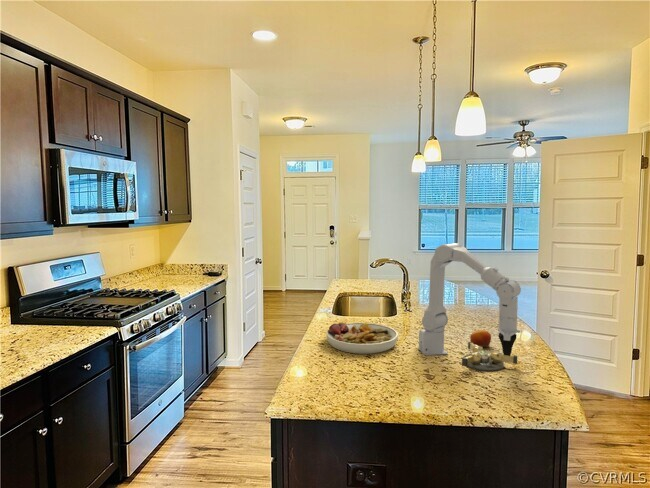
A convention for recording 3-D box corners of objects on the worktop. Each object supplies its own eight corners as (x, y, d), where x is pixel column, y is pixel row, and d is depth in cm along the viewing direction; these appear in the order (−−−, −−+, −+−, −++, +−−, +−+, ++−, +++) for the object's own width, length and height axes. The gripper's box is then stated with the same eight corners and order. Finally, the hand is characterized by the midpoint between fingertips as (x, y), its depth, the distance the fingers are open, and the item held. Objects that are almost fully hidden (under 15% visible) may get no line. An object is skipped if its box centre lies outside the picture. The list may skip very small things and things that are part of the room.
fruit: (481, 348, 163) (475, 328, 167) (470, 352, 170) (465, 333, 174) (498, 346, 166) (492, 326, 169) (487, 350, 172) (481, 331, 176)
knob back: (484, 356, 154) (484, 347, 154) (474, 357, 154) (475, 348, 153) (474, 349, 162) (474, 340, 162) (465, 349, 162) (465, 340, 162)
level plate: (472, 372, 144) (473, 359, 143) (456, 357, 158) (456, 346, 157) (511, 370, 145) (511, 357, 144) (491, 356, 159) (492, 344, 158)
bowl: (401, 336, 186) (401, 318, 185) (393, 360, 157) (393, 339, 156) (336, 331, 194) (336, 314, 193) (317, 353, 165) (317, 333, 164)
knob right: (490, 362, 148) (490, 353, 148) (491, 359, 152) (491, 349, 151) (517, 366, 145) (517, 356, 144) (517, 362, 148) (517, 353, 148)
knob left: (474, 359, 151) (474, 350, 151) (482, 362, 148) (483, 353, 148) (459, 365, 146) (459, 355, 146) (467, 368, 143) (468, 358, 143)
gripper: (521, 323, 133) (519, 363, 135) (520, 312, 146) (519, 349, 148) (497, 320, 136) (496, 360, 138) (499, 310, 149) (498, 347, 151)
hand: (506, 354), depth 143 cm, fingers closed
